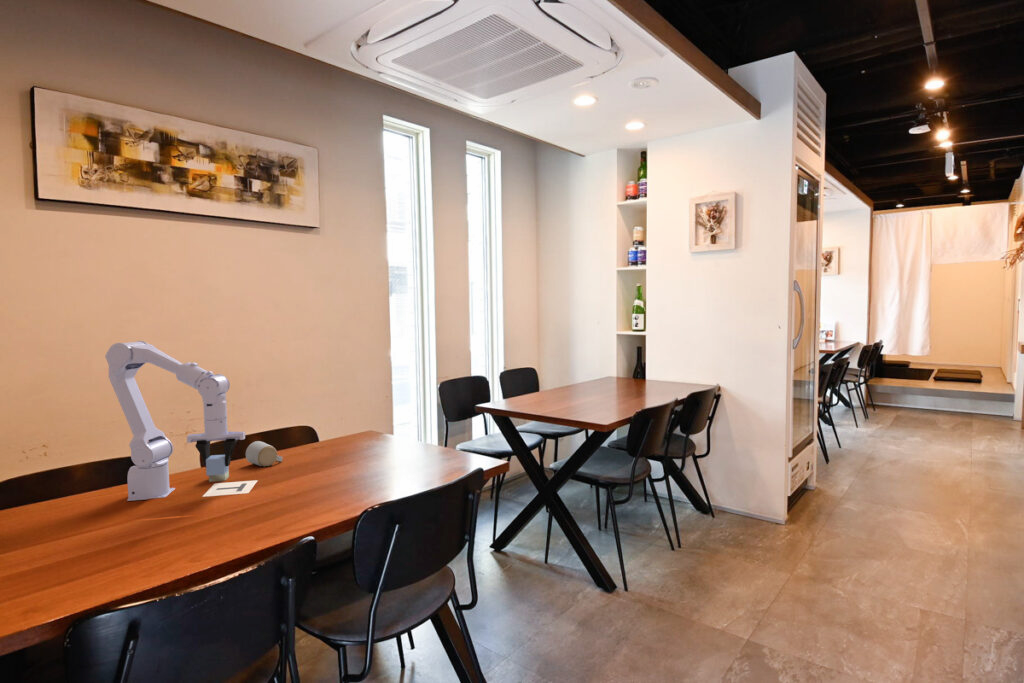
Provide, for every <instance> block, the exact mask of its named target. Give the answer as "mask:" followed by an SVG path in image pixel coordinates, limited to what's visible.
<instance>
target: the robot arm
mask: <svg viewBox="0 0 1024 683" xmlns="http://www.w3.org/2000/svg"><path fill="white" fill-rule="evenodd" d="M104 357H105V359H106V362H107V364H108V379H109V381H110V384H111V386H112V388H113V391H114V393H115V395H116V397H117V399H118V402H119V404H120V405H119V406H120V407H121V409H122V412H123V414H124V417H125V418H126V421H127V423H128V426H129V428H130V431H131V433H132V435H133V436H132V438H131V440H130V442H129V444H128V447H129V448H130V459H131V461H132V462H133V464H134V465H133V466H130V467H129V469H128V471H127V480H126V481H127V495H128V498H127V499H126V500H127V502H130V501H143V500H144V501H145V500H149V499H161V498H162V499H163V498H167V497H168V496H169V495H170V494H171V493H172V492H173V491H174V490H176V487H170V473H169V471H170V470H169V461H170V457H171V456H172V454H173V452H174V445H173V442H172V441H171V440H170V439H169V438H168V437H167V436H166V435H165V431H162V430H160V429H159V428H157V427H156V425H155V423H154V420H153V418H152V416H151V413H150V411H149V409H148V407H147V405H146V402H145V399H144V398H143V395H142V393H141V391H140V388H139V386H138V382H137V380H136V379H135V377H136V374H137V373H138V371H139V370H140V369H141V368H142V367H144V366H145V364H146V363H148V364H152V365H154V366H156V367H159V368H161V369H163V370H165V371H168V372H170V373H172V374H174V375H175V376H176V379H177V381H179V382H181V383H182V384H185V385H187V386H188V387H191V388H193V389H195V390H196V391H197V392H198V393H199V395H200V396H201V398H202V399H201V400H202V403H203V422H204V423H203V425H204V427H203V428H204V433H203V432H202V433H195V434H194V433H193V434H191V433H190V434H188V435H187V436H186V443H187V444H191V443H196V444H195V445H194V446H195V448H196V449H197V451H198V452H199V454H200V456H201V458H202V460H203V463H204V467H205V469H206V459H207V458H209V457H210V456H211V451H210V450H211V449H210V448H211V442H218V441H224V442H223V443H222V444H223V450H224V455H225V466H229V467H230V465H231V460H232V456H233V452H234V449H235V447H236V445H237V442H238V440H240V441H242V440H245V439H246V431H228V409H227V405H228V404H227V392H228V391H229V390H230V387H231V386H230V380H229V379H228V377H226V376H225V375H223V373H217V374H214V372H213V371H212V370H207V369H204V368H202V367H201V366H199V363H197V362H196V361H195V362H185V363H182V362H181V361H179V360H177V359H176V358H174V357H172V356H170V355H168V354H167V353H165V352H164V351H162V350H160V349H158V348H156V346H155V345H153V344H151V343H148V342H146V341H144V340H137V341H132V342H131V341H130V342H116V343H114V344H112V345H111V346H110V347H109V349H108V350H107V352H106V354H105V355H104Z"/></svg>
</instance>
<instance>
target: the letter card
mask: <svg viewBox="0 0 1024 683" xmlns="http://www.w3.org/2000/svg"><path fill="white" fill-rule="evenodd" d="M258 481H259V480H256V479H255V480H254V479H253V480H244V481H243V480H242V481H231V482H218V483H217V482H216V483H213V485H211V487H210V488H208V490H207V491H206V492H205V493H204V494H203V495H202V498H203V497H204V498H205V497H215V496H217V497H218V496H229V495H240V494H241V495H244V494H249V493H250V492H251V490H252V489H253V488H254V486H255V485H256V484H257V482H258Z"/></svg>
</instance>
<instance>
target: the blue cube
mask: <svg viewBox="0 0 1024 683" xmlns="http://www.w3.org/2000/svg"><path fill="white" fill-rule="evenodd" d="M229 468H230V465H229V466H225V454H214V455H213V454H212V455H211V454H210V457H209V458H207V459H206V468H205V473H206V476H208V477H209V475H224V474H225V473H226V472H227V471H228V470H230V469H229Z"/></svg>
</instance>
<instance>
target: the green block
mask: <svg viewBox="0 0 1024 683" xmlns="http://www.w3.org/2000/svg"><path fill="white" fill-rule="evenodd" d="M229 470H230V469H229ZM229 470H228V471H227V472H226V473H225V474H224V475H209V476H208V482H209V483H213V482H225V481H226V480H227V479H228V478H229V477H230V471H229Z"/></svg>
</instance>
